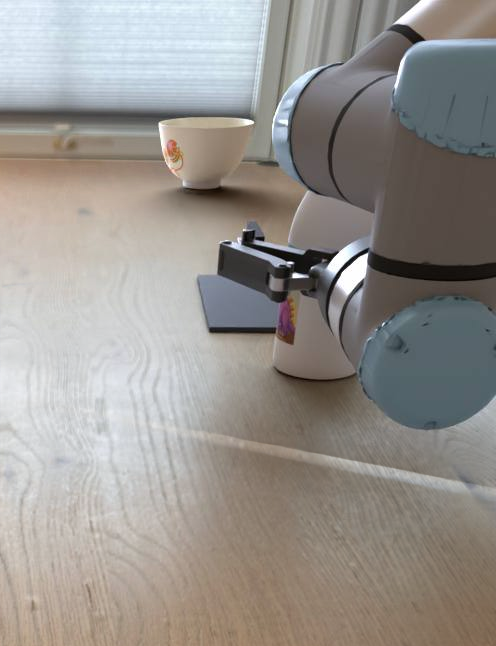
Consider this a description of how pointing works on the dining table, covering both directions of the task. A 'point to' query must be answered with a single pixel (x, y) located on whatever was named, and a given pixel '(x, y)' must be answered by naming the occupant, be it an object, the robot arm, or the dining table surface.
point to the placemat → (236, 306)
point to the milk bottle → (304, 312)
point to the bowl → (204, 148)
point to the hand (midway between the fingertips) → (329, 237)
